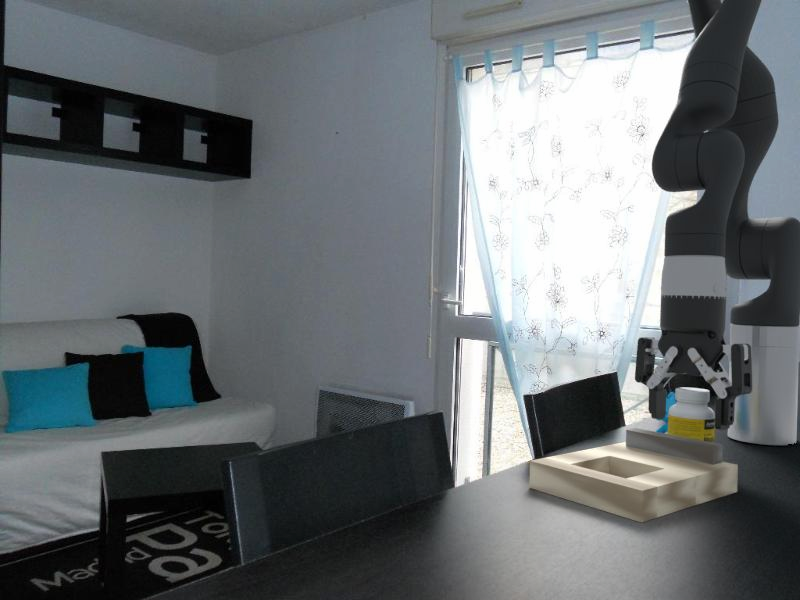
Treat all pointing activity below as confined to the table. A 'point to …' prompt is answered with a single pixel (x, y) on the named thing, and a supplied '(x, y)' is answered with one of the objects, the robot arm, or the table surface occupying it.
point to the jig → (639, 475)
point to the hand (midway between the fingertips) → (688, 423)
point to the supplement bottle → (692, 415)
